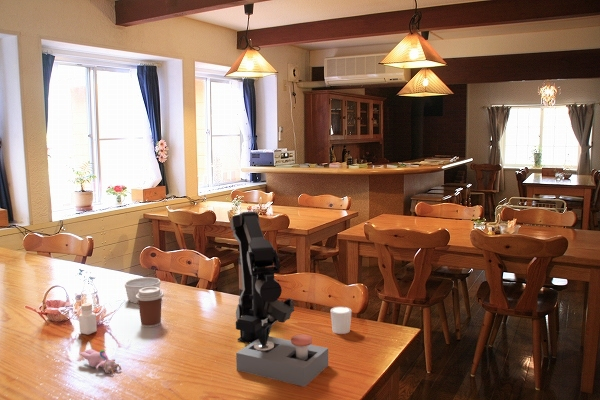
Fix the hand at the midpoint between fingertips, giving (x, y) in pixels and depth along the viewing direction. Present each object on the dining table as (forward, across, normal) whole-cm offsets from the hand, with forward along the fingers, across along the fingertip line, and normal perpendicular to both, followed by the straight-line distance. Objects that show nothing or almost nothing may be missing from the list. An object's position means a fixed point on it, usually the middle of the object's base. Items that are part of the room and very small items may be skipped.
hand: (263, 344), depth 153 cm
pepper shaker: (+6, -6, +64) cm, 65 cm away
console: (+5, 0, -6) cm, 8 cm away
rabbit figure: (+6, -23, +40) cm, 46 cm away
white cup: (+6, +32, -9) cm, 34 cm away
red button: (+1, 0, -12) cm, 12 cm away
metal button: (+5, 0, 0) cm, 5 cm away
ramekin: (+6, +28, +73) cm, 78 cm away
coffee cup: (+6, +9, +51) cm, 52 cm away
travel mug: (+6, +35, +28) cm, 45 cm away
